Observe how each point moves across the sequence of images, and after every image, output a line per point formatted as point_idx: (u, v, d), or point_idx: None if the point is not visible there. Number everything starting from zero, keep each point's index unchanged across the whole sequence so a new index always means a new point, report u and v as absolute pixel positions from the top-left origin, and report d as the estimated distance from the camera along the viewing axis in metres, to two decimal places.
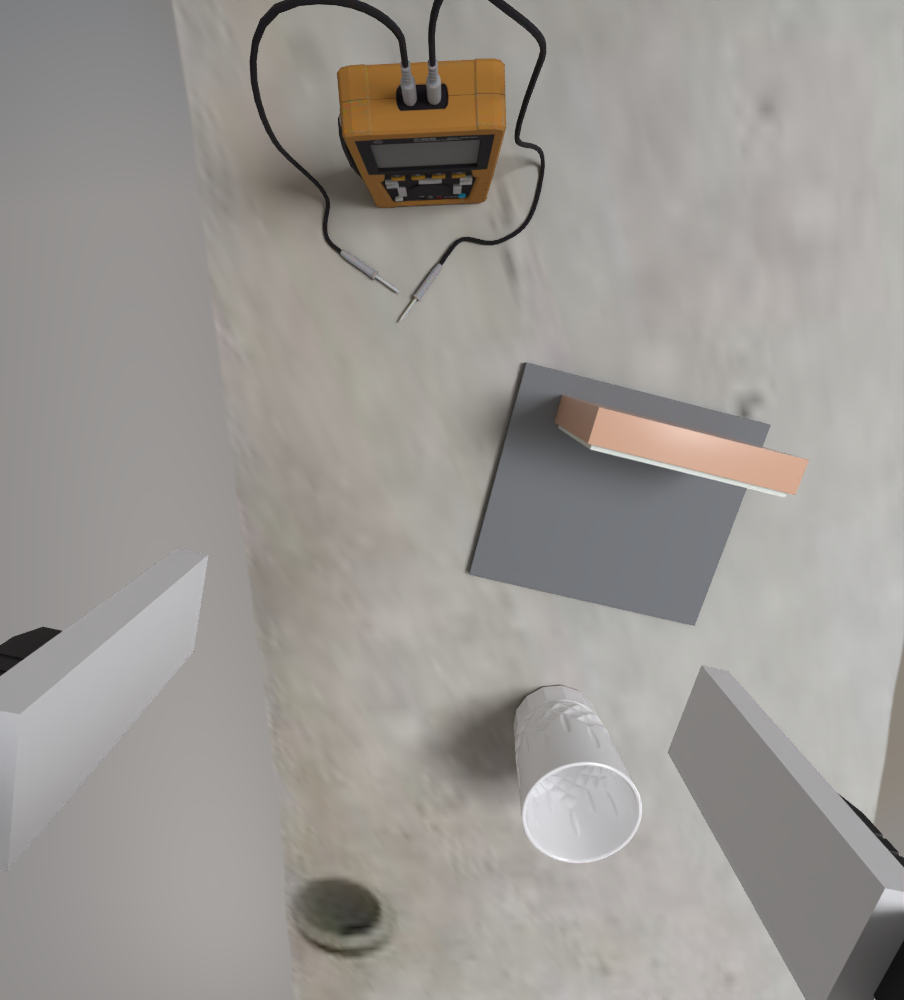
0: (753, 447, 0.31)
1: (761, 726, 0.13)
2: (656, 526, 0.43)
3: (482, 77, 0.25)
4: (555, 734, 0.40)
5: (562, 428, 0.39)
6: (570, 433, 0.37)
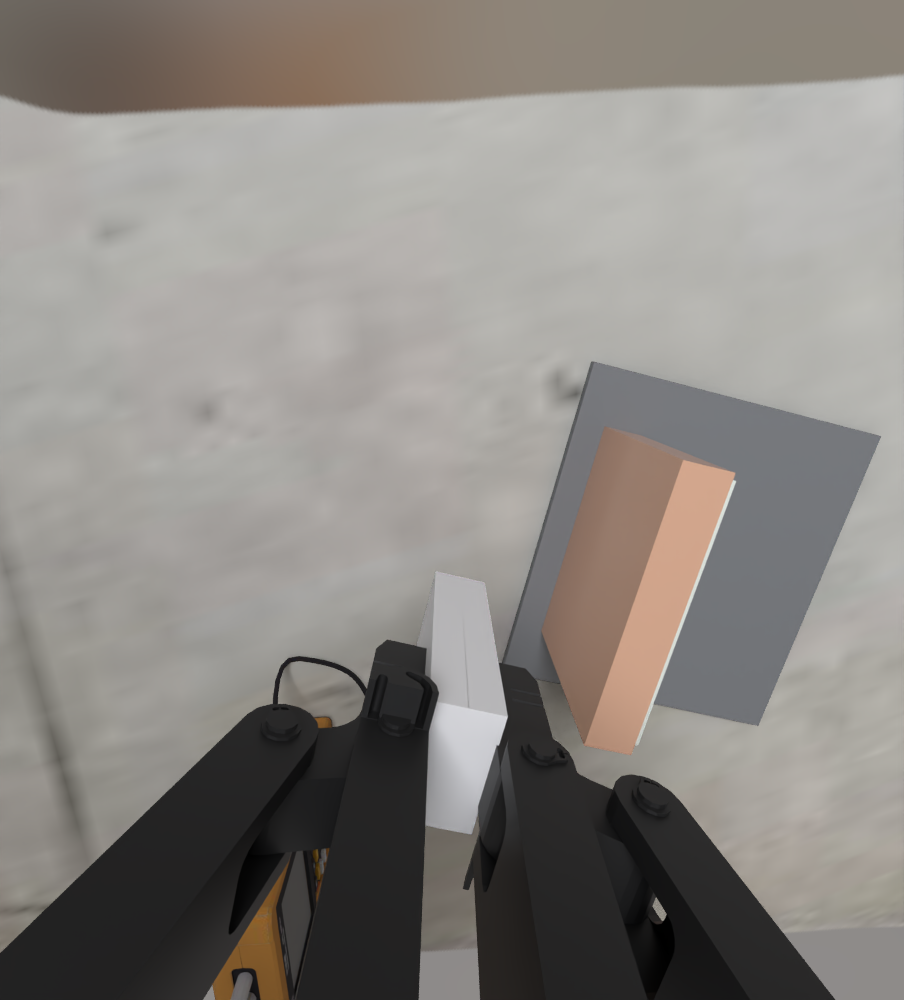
0: (655, 543, 0.21)
1: (472, 615, 0.15)
2: None
3: None
4: None
5: None
6: None
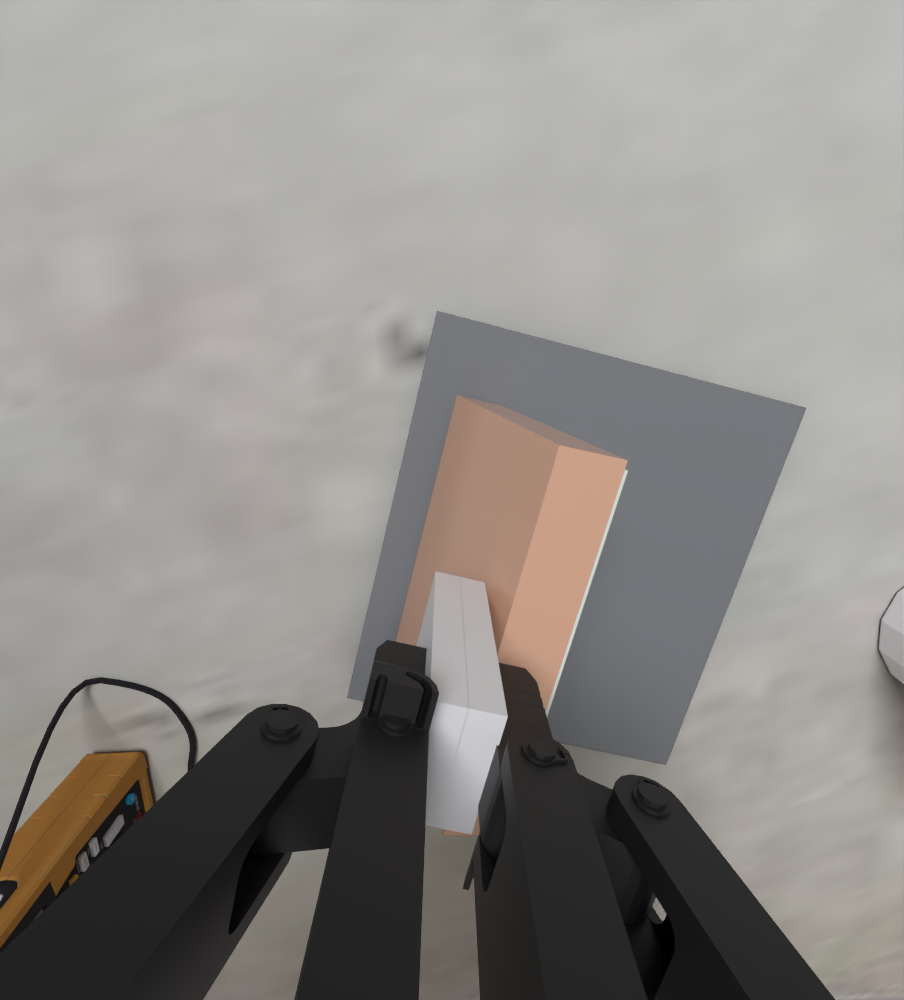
0: (526, 563, 0.15)
1: (472, 615, 0.15)
2: None
3: None
4: None
5: None
6: None
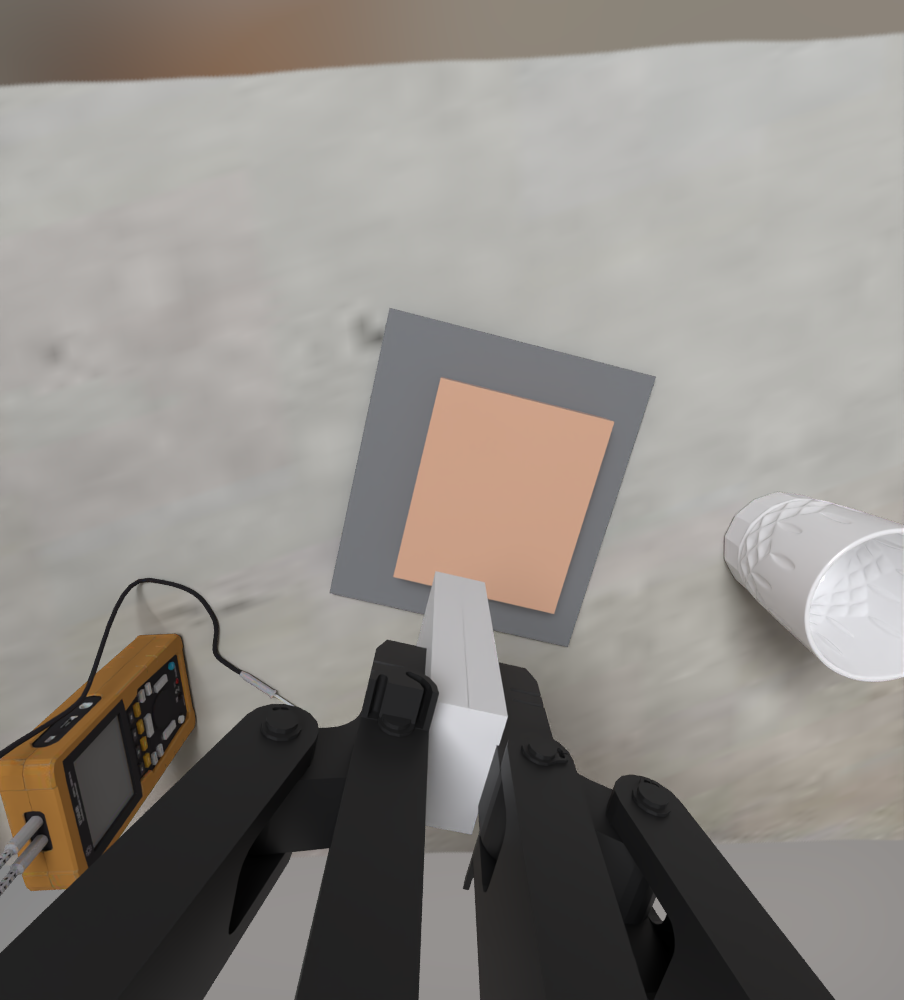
0: (596, 475, 0.33)
1: (472, 615, 0.15)
2: None
3: (11, 785, 0.26)
4: (772, 604, 0.31)
5: None
6: None
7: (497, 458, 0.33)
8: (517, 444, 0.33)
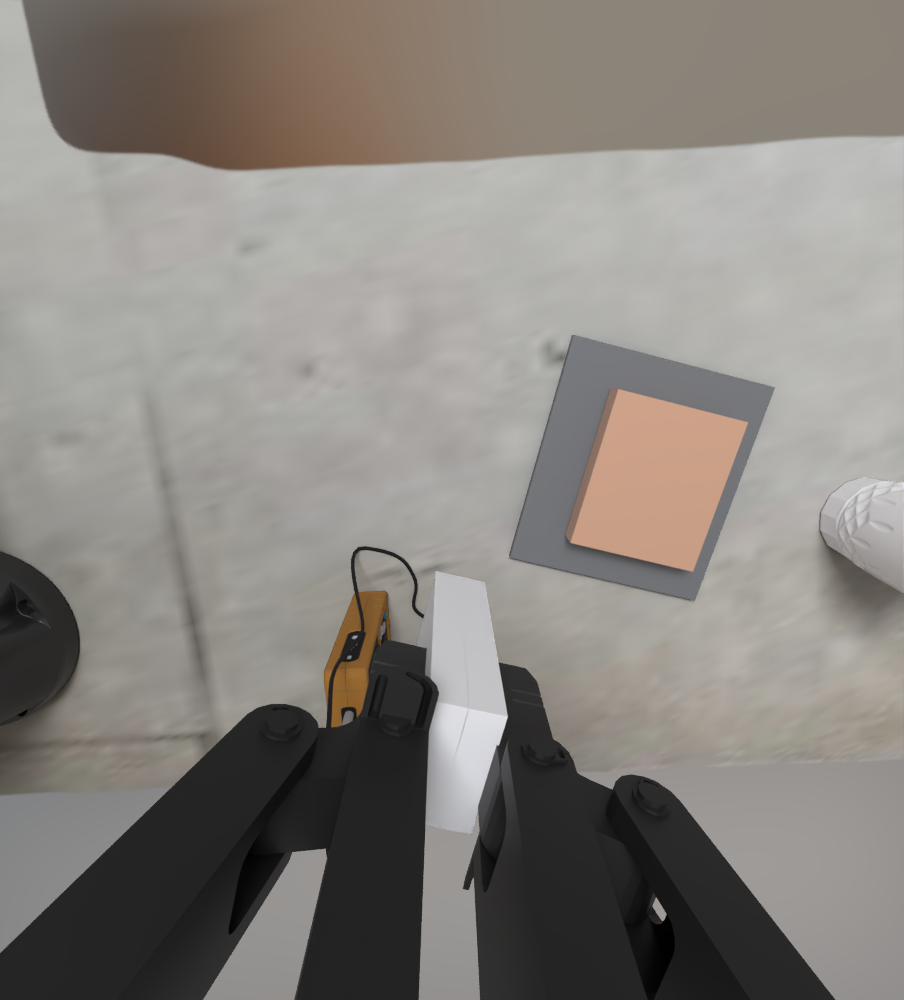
0: (732, 463, 0.43)
1: (472, 615, 0.15)
2: None
3: (336, 686, 0.36)
4: (871, 559, 0.41)
5: None
6: None
7: (657, 450, 0.43)
8: (673, 439, 0.43)
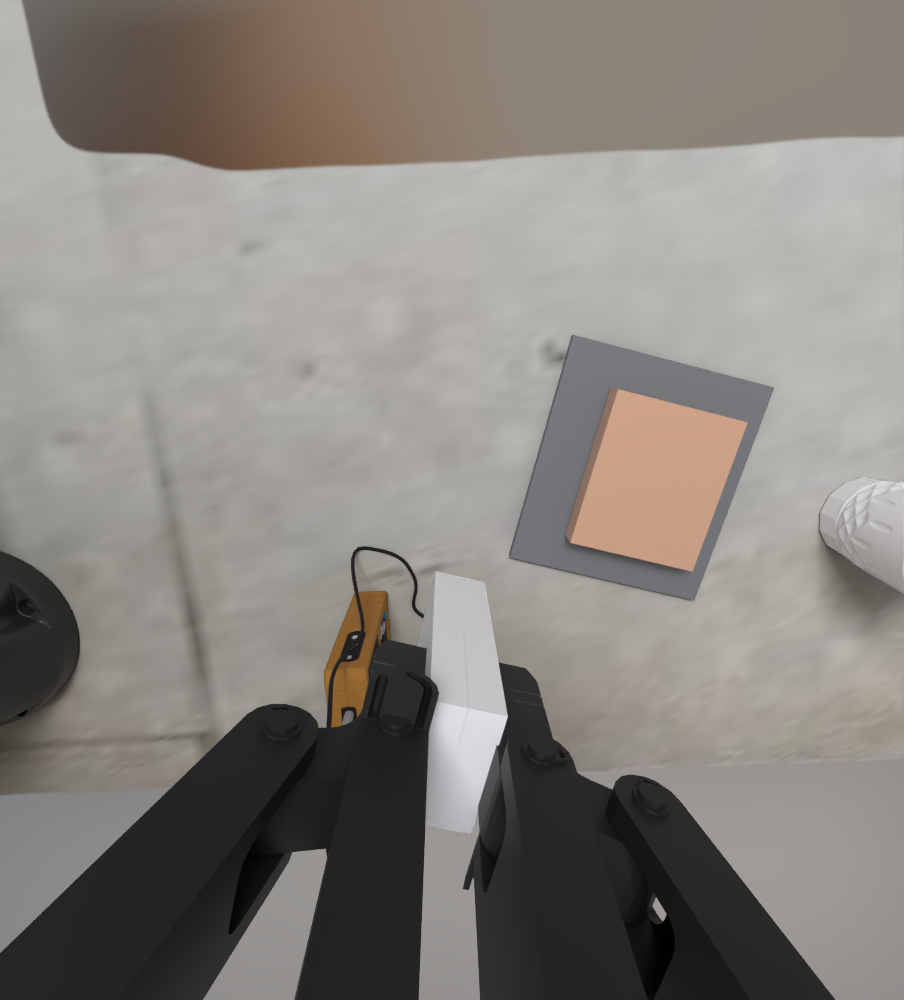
0: (731, 463, 0.43)
1: (472, 615, 0.15)
2: None
3: (336, 686, 0.36)
4: (870, 559, 0.41)
5: None
6: None
7: (657, 450, 0.43)
8: (672, 439, 0.43)
